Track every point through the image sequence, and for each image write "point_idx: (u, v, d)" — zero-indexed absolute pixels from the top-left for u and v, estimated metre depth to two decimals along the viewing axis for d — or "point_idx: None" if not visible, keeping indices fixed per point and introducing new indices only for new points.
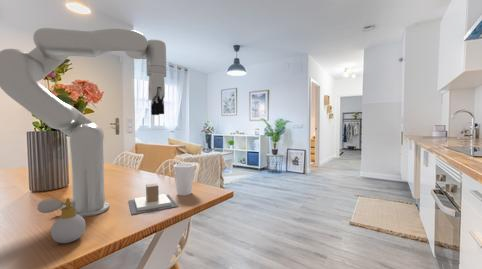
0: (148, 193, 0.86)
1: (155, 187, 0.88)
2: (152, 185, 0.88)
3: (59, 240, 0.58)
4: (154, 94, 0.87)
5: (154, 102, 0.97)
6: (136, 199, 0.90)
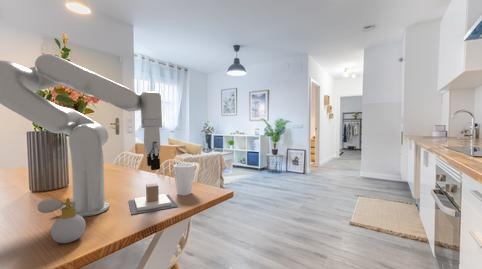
0: (148, 193, 0.86)
1: (155, 187, 0.88)
2: (152, 185, 0.88)
3: (59, 240, 0.58)
4: (149, 150, 0.83)
5: (150, 152, 0.93)
6: (136, 199, 0.90)
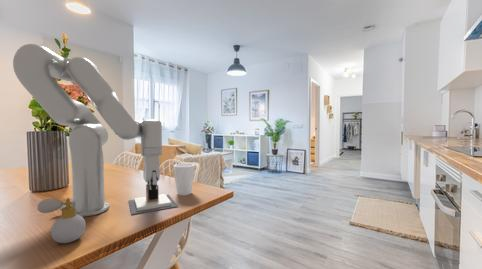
0: (148, 193, 0.86)
1: None
2: None
3: (59, 240, 0.58)
4: (148, 179, 0.83)
5: (150, 182, 0.91)
6: (136, 199, 0.90)
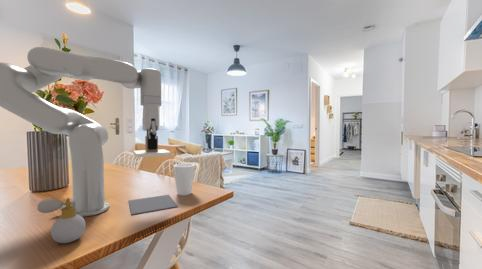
0: (147, 143, 0.86)
1: None
2: None
3: (59, 240, 0.58)
4: (148, 126, 0.83)
5: None
6: (135, 151, 0.89)
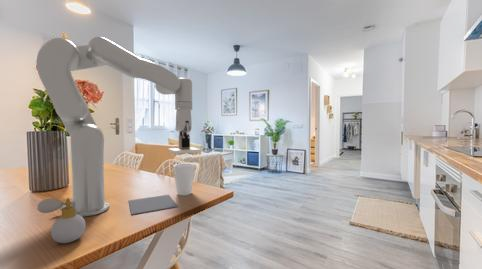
0: (181, 141, 1.00)
1: None
2: None
3: (59, 240, 0.58)
4: (183, 128, 0.97)
5: (181, 134, 1.05)
6: (170, 148, 1.03)
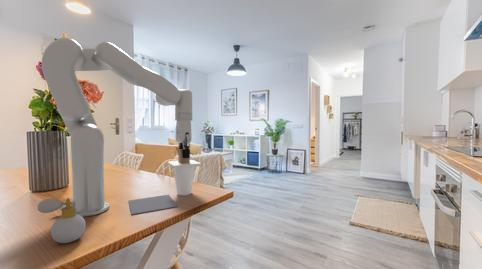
0: (181, 155, 1.00)
1: None
2: None
3: (59, 240, 0.58)
4: (183, 139, 0.97)
5: (181, 144, 1.06)
6: (169, 162, 1.03)
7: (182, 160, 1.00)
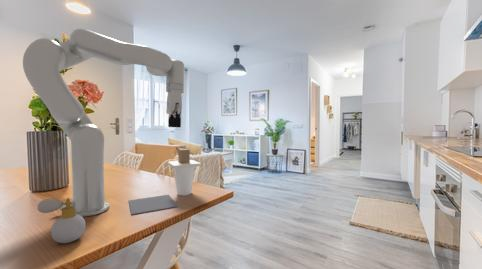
0: (181, 155, 1.00)
1: (187, 151, 1.01)
2: (184, 149, 1.02)
3: (59, 240, 0.58)
4: (172, 109, 0.96)
5: (171, 115, 1.06)
6: (169, 162, 1.03)
7: (182, 160, 1.00)
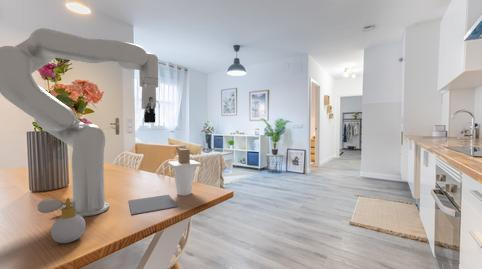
0: (181, 155, 1.00)
1: (187, 151, 1.01)
2: (184, 149, 1.02)
3: (59, 240, 0.58)
4: (146, 104, 0.93)
5: (147, 111, 1.03)
6: (169, 162, 1.03)
7: (182, 160, 1.00)
